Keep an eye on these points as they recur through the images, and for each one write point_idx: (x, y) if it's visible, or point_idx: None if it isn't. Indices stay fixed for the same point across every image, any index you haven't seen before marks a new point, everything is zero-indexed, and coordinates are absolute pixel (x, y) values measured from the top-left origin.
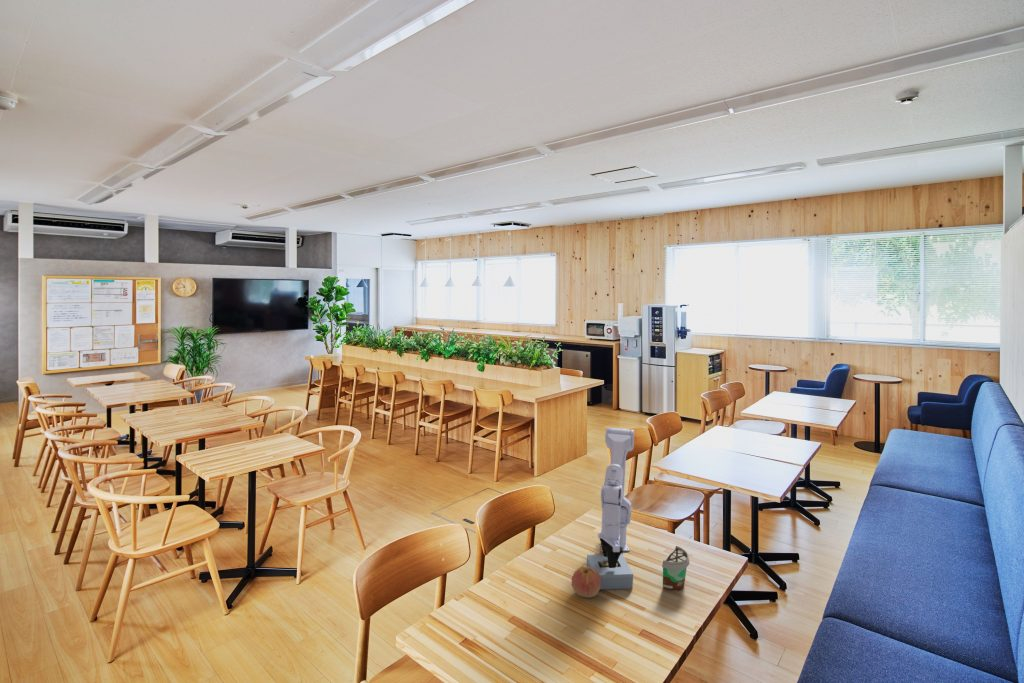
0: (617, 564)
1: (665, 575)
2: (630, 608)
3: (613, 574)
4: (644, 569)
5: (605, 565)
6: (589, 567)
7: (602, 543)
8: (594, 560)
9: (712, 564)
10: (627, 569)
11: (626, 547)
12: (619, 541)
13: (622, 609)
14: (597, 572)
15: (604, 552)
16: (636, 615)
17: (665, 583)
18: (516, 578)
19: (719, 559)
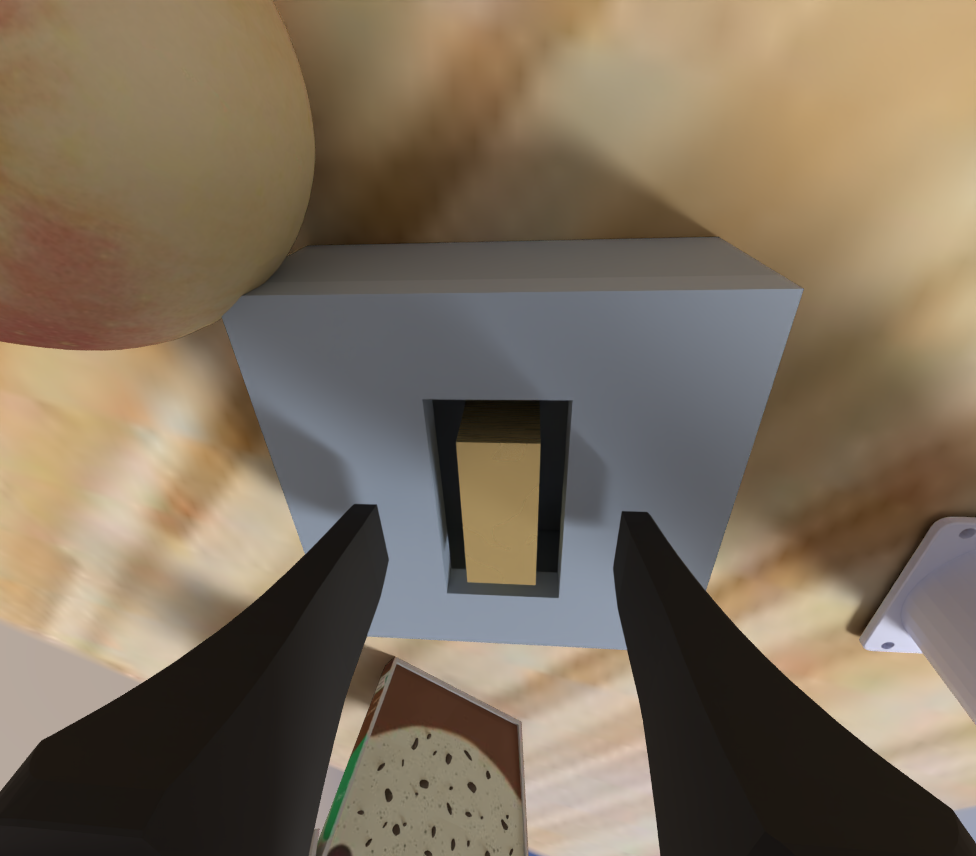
0: (468, 581)
1: (352, 759)
2: (139, 461)
3: (291, 499)
4: None
5: (460, 471)
6: (31, 212)
7: (684, 688)
8: (609, 369)
9: (592, 830)
10: (404, 620)
11: (909, 644)
12: (964, 671)
13: (104, 408)
14: (6, 336)
15: (632, 562)
16: (76, 473)
17: (373, 701)
18: None
19: (624, 851)
